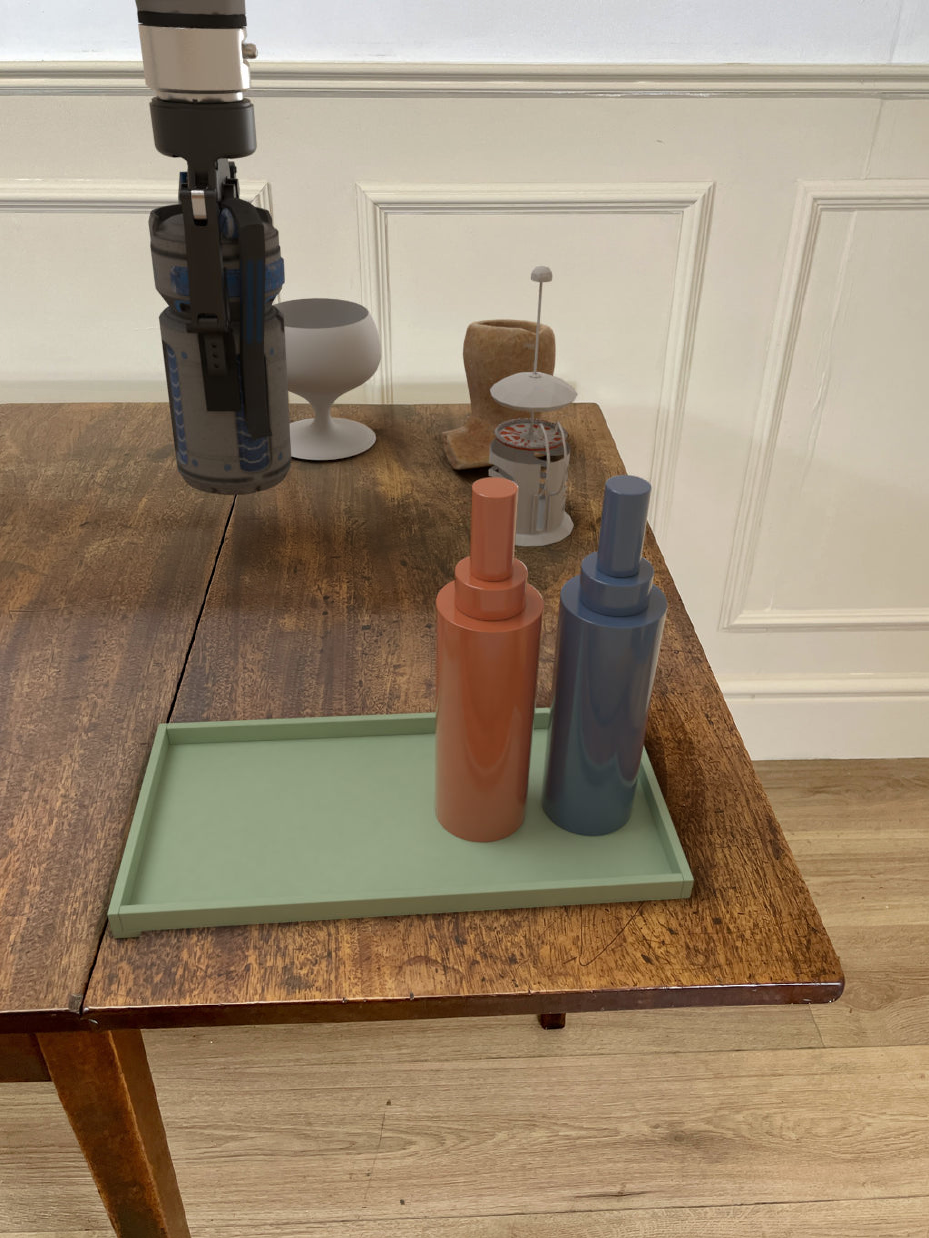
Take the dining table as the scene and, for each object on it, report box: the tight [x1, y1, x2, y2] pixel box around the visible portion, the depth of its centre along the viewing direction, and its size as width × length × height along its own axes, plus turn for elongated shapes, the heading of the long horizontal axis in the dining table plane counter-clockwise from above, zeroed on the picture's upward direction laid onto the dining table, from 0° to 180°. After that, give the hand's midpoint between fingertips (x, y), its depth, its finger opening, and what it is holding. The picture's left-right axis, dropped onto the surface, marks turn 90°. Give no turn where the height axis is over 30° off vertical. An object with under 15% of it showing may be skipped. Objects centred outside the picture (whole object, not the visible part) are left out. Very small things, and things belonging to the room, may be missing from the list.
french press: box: [488, 265, 579, 547], centre depth 87 cm, size 10×12×25 cm
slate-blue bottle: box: [541, 474, 668, 836], centre depth 55 cm, size 6×6×23 cm
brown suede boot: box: [439, 318, 568, 471], centre depth 105 cm, size 15×12×15 cm
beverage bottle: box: [147, 171, 292, 496], centre depth 79 cm, size 10×13×25 cm
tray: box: [106, 707, 695, 939], centre depth 60 cm, size 33×16×2 cm, turn 95°
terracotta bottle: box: [434, 476, 545, 842], centre depth 55 cm, size 6×6×23 cm
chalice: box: [273, 297, 382, 461], centre depth 107 cm, size 14×14×15 cm
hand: (231, 386), depth 82 cm, fingers closed on beverage bottle, 10 cm apart
